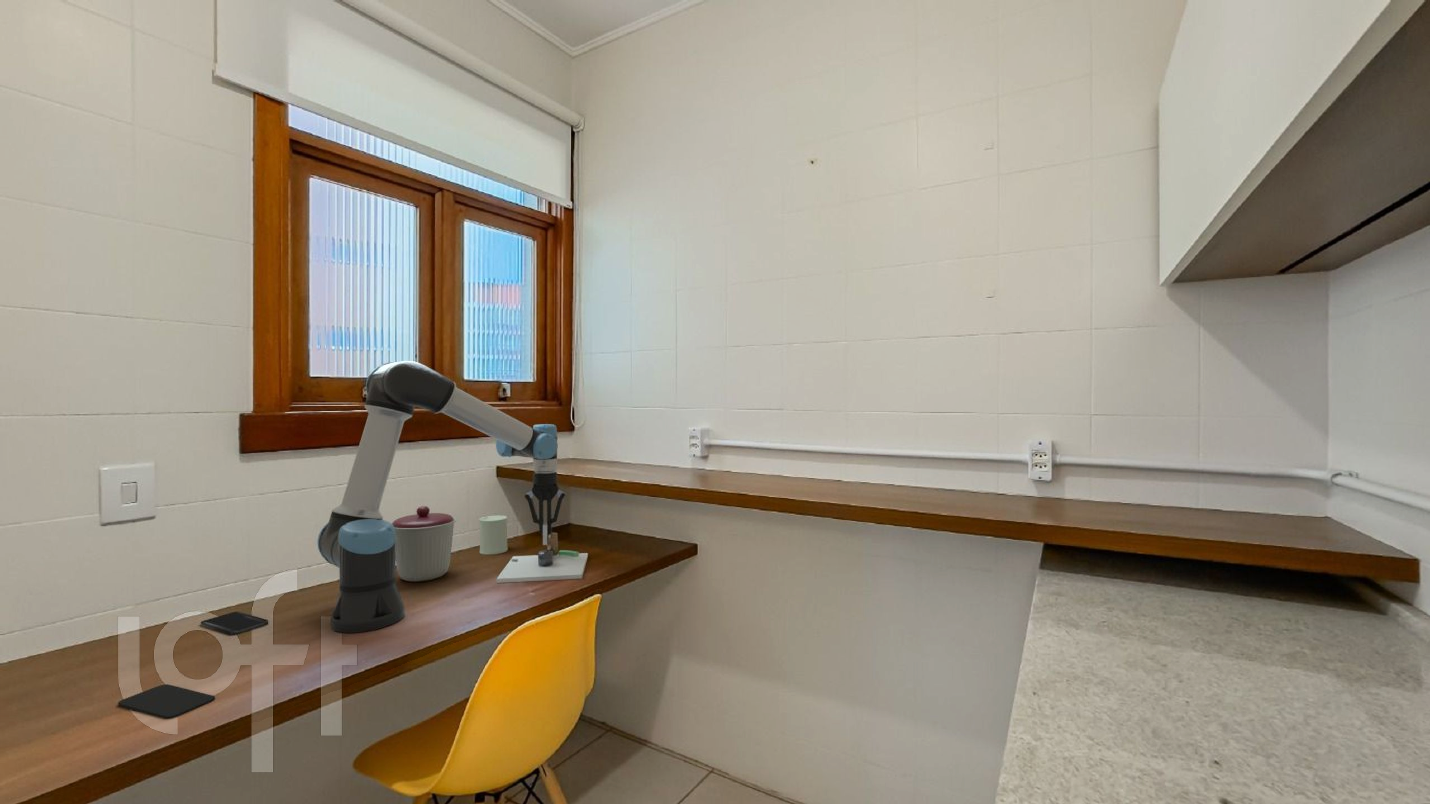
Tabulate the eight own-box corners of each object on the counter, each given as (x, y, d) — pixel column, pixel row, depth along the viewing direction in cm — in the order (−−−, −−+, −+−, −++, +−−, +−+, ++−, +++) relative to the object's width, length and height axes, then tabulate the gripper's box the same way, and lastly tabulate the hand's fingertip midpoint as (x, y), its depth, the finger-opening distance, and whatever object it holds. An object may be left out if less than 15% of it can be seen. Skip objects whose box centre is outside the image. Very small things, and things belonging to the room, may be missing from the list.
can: (478, 549, 208) (478, 515, 208) (506, 546, 212) (505, 513, 212) (480, 555, 200) (479, 520, 199) (509, 552, 204) (508, 517, 203)
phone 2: (232, 632, 134) (198, 621, 141) (232, 637, 134) (198, 626, 141) (271, 620, 141) (237, 610, 148) (271, 625, 141) (237, 615, 148)
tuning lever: (550, 565, 182) (550, 542, 182) (536, 566, 182) (536, 542, 182) (561, 553, 196) (561, 531, 196) (548, 553, 196) (547, 531, 196)
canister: (382, 576, 178) (381, 506, 178) (446, 564, 190) (445, 498, 190) (398, 590, 164) (397, 515, 164) (465, 577, 176) (464, 506, 176)
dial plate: (496, 582, 170) (496, 574, 170) (513, 559, 195) (513, 552, 195) (581, 578, 174) (581, 570, 174) (588, 556, 198) (587, 548, 198)
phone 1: (168, 717, 99) (114, 702, 104) (168, 722, 99) (114, 707, 104) (218, 696, 106) (165, 683, 111) (218, 701, 106) (165, 687, 111)
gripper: (523, 473, 188) (523, 547, 188) (564, 472, 190) (565, 546, 190) (526, 470, 195) (526, 542, 195) (566, 469, 197) (566, 540, 198)
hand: (545, 544), depth 193 cm, fingers closed
